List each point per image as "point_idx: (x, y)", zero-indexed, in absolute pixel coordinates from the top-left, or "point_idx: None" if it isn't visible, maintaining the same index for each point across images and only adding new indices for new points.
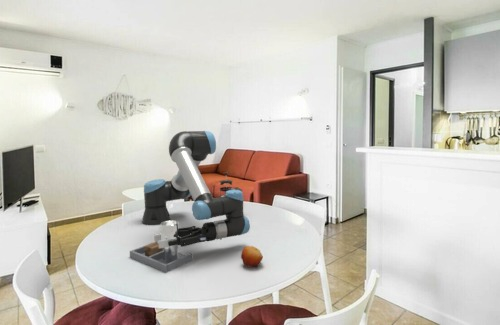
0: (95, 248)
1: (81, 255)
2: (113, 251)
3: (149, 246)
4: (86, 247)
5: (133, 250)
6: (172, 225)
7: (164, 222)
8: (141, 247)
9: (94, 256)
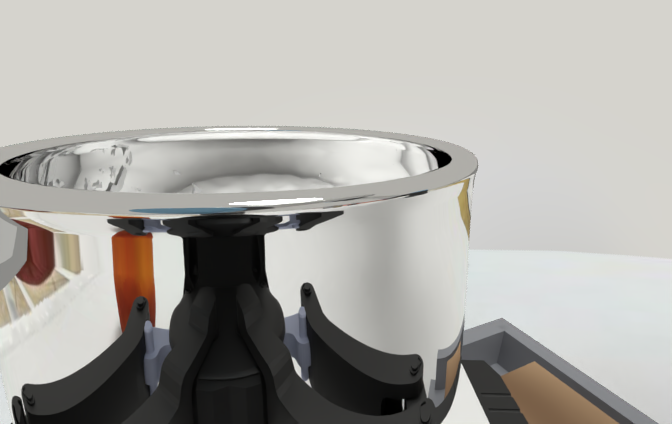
0: (626, 275)
1: (544, 252)
2: (598, 312)
3: (515, 388)
4: (630, 260)
5: (511, 332)
6: (32, 148)
7: (409, 155)
8: (573, 374)
9: (533, 270)
